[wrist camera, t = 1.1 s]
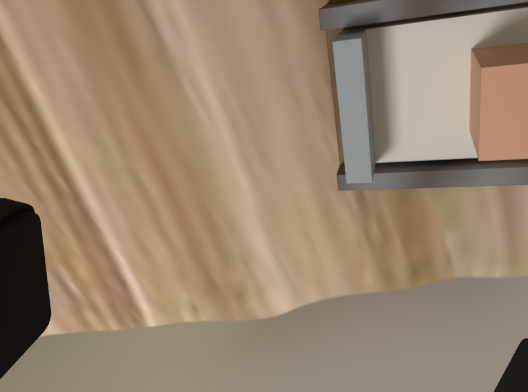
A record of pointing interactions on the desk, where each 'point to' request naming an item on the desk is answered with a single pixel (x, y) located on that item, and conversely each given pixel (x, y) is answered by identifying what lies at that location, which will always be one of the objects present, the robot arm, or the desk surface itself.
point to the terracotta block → (499, 102)
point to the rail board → (427, 171)
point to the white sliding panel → (413, 86)
